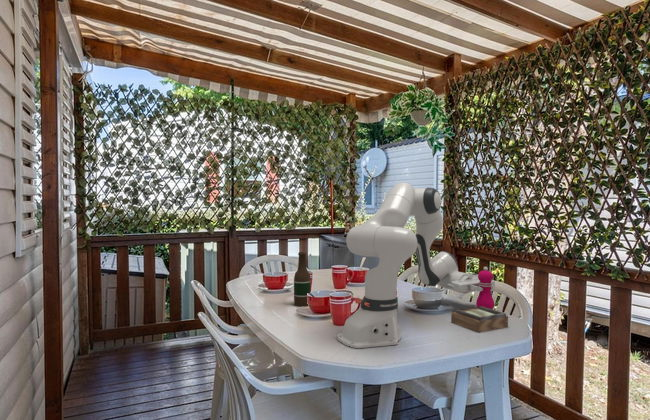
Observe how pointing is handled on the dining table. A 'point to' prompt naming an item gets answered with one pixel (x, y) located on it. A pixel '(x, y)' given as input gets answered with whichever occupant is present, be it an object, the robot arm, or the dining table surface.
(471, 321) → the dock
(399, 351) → the dining table surface
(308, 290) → the beer bottle
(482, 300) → the pepper mill
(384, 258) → the robot arm
